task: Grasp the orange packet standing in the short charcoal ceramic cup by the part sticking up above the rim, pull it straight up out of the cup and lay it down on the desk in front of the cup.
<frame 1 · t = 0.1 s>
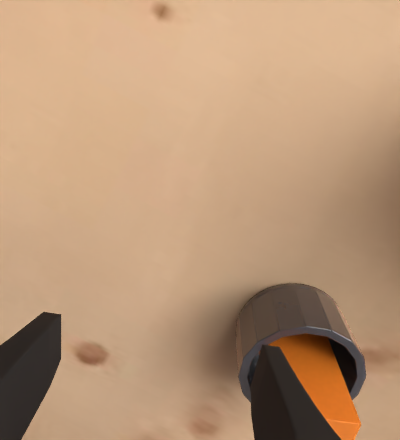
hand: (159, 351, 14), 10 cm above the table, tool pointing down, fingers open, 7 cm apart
cup: (288, 327, 25), on the table
packet: (290, 331, 25), resting on cup
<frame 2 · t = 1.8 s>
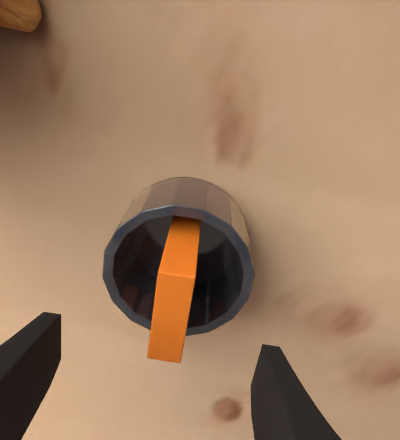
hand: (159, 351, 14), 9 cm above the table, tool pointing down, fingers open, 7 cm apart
cup: (184, 236, 22), on the table
packet: (184, 239, 21), resting on cup
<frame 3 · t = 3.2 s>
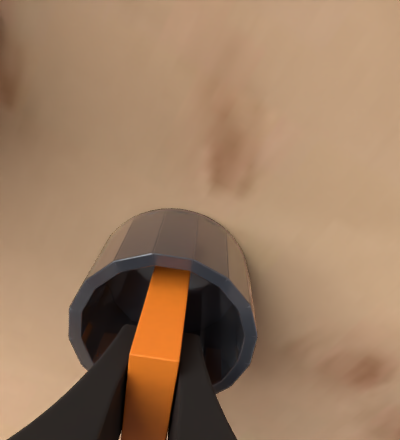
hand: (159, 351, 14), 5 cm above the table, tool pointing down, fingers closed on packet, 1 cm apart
cup: (173, 276, 18), on the table
packet: (172, 281, 18), resting on cup, touching gripper
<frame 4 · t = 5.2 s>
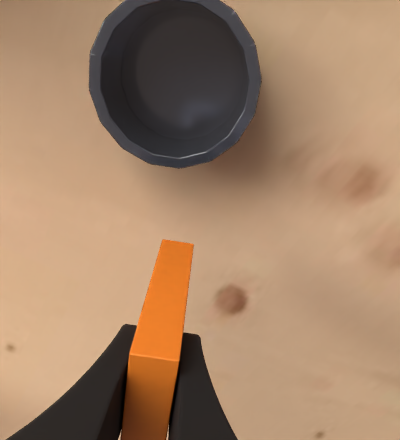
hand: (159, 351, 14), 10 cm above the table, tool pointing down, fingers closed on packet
cup: (182, 78, 19), on the table
packet: (172, 281, 18), point 6 cm above the table, touching gripper
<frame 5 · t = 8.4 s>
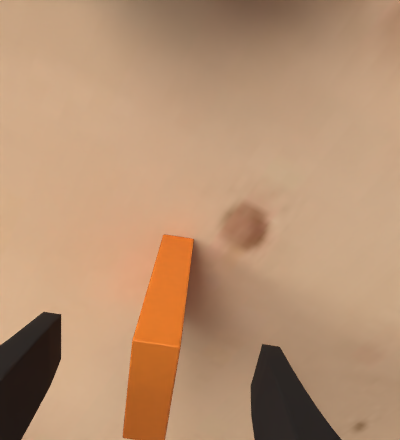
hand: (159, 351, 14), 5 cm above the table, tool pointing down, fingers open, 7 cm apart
packet: (173, 275, 18), on the table
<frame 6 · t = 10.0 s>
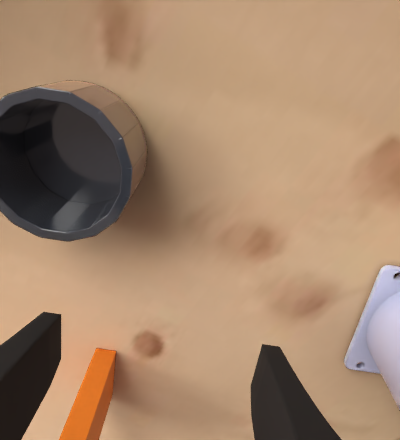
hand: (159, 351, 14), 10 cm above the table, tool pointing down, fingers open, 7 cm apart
cup: (83, 148, 21), on the table
packet: (104, 371, 27), on the table
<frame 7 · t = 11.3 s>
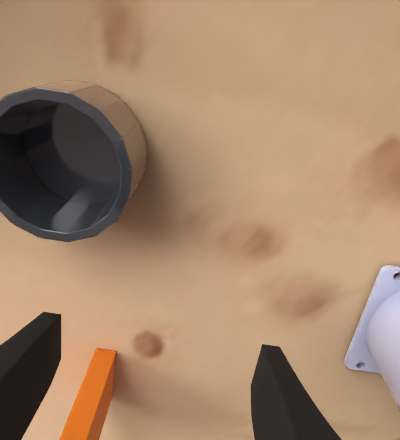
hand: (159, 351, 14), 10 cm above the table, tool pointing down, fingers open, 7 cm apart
cup: (83, 149, 21), on the table
packet: (104, 372, 27), on the table
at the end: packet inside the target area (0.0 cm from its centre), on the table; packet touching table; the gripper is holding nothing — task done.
